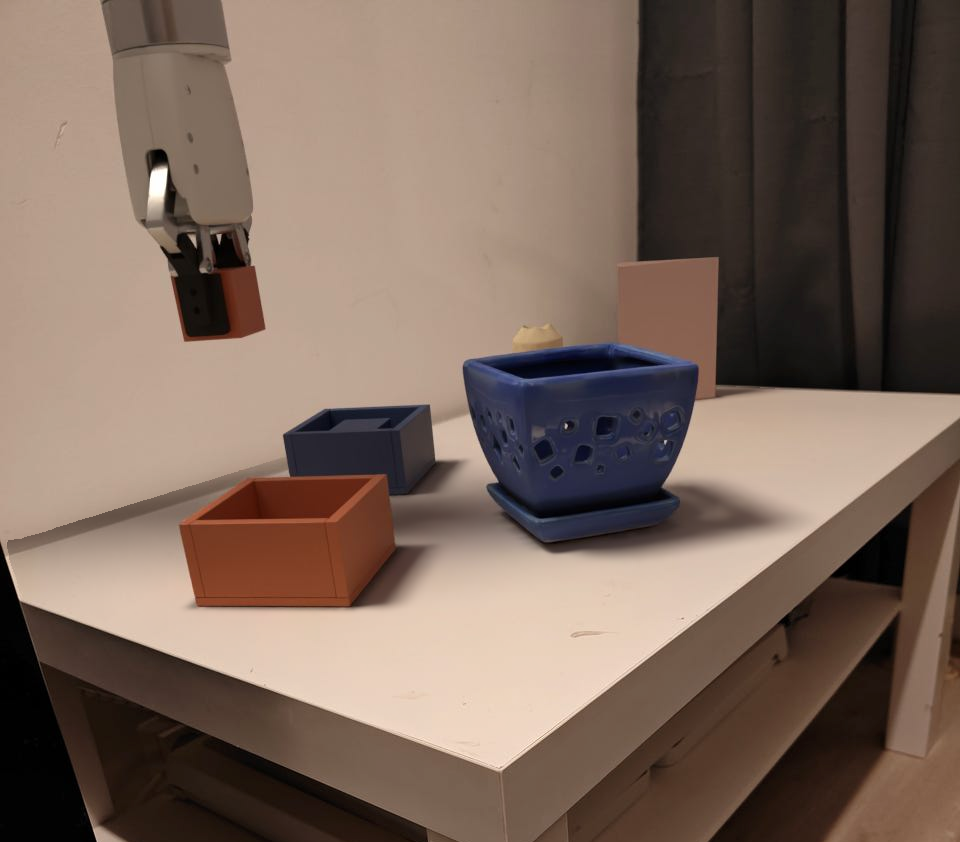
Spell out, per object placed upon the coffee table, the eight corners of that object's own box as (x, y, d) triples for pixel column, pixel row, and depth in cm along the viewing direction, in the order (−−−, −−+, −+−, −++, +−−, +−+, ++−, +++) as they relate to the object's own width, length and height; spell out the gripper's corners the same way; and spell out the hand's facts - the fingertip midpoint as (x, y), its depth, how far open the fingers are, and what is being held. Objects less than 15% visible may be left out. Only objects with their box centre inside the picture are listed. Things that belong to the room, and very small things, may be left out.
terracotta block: (183, 342, 67) (169, 275, 65) (210, 333, 71) (198, 270, 69) (242, 338, 66) (229, 270, 64) (266, 329, 70) (255, 265, 68)
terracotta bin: (196, 606, 61) (177, 524, 59) (261, 550, 70) (247, 477, 68) (350, 606, 59) (337, 521, 56) (396, 549, 68) (386, 474, 66)
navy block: (335, 480, 85) (328, 430, 83) (351, 467, 89) (344, 419, 87) (382, 478, 84) (376, 429, 82) (396, 465, 88) (390, 417, 86)
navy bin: (292, 496, 83) (282, 434, 81) (332, 465, 93) (324, 408, 90) (407, 494, 81) (399, 430, 79) (435, 462, 90) (430, 404, 88)
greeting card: (716, 395, 108) (720, 256, 102) (702, 409, 102) (705, 262, 96) (621, 395, 113) (619, 262, 107) (602, 408, 107) (599, 268, 101)
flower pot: (620, 485, 78) (618, 337, 73) (701, 529, 67) (705, 357, 62) (469, 511, 75) (456, 358, 70) (527, 561, 63) (516, 382, 58)
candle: (566, 410, 107) (562, 319, 103) (565, 421, 102) (561, 326, 98) (518, 413, 108) (512, 323, 104) (515, 424, 103) (509, 329, 99)
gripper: (176, 61, 69) (225, 319, 77) (40, 25, 54) (118, 351, 62) (271, 48, 68) (311, 313, 75) (158, 8, 53) (223, 344, 60)
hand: (224, 327), depth 68 cm, fingers closed on terracotta block, 4 cm apart
